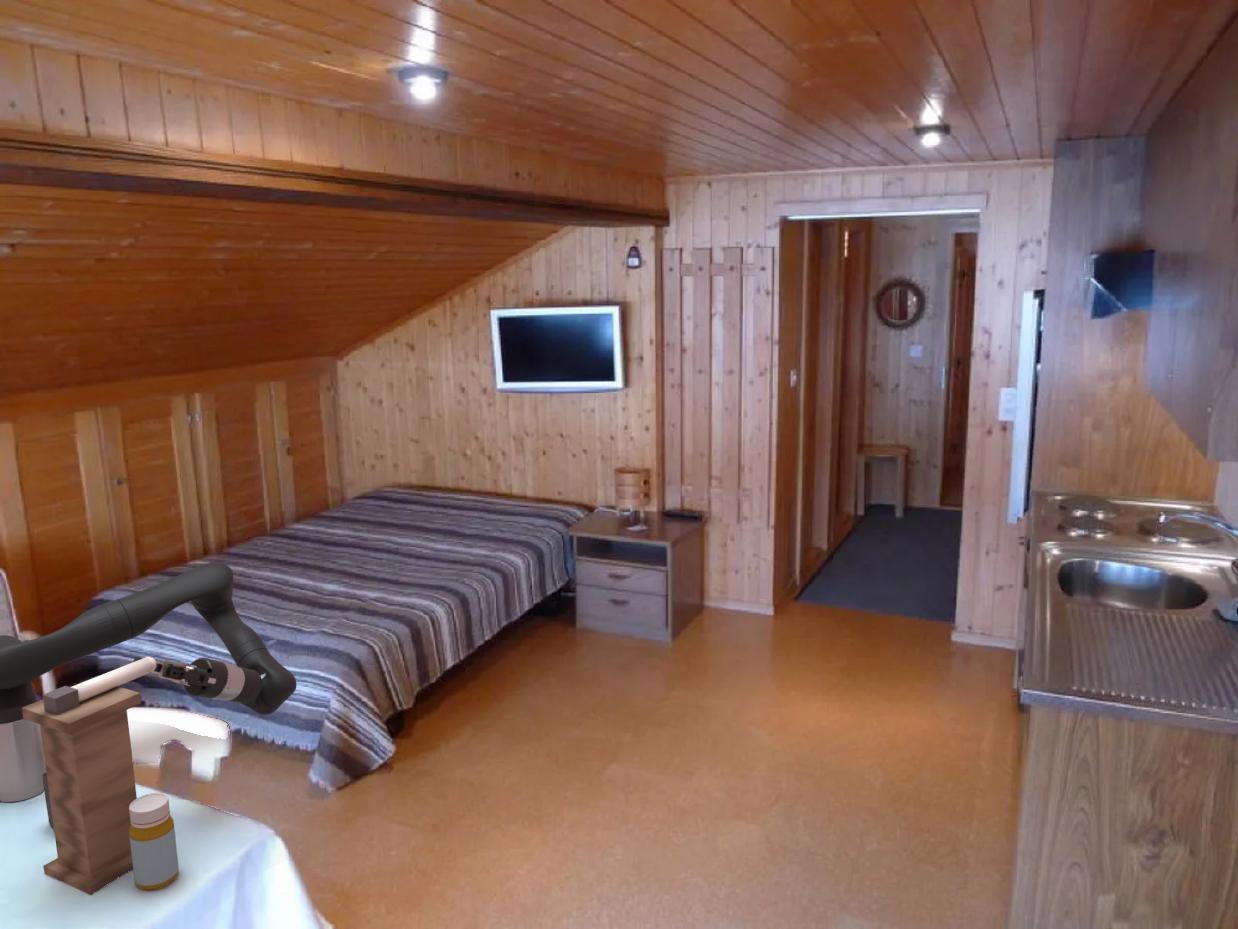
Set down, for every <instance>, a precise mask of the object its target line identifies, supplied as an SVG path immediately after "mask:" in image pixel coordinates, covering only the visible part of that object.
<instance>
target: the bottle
mask: <svg viewBox="0 0 1238 929" xmlns="http://www.w3.org/2000/svg"><path fill="white" fill-rule="evenodd" d="M170 811H171V810H170V800H169V797H168V795H167V794H165V793H161V792H153V793H148V794H144V795H141V796H139V797H137V799H135V800H134V801H133V802H132V803H131V804H130V806H129V812H130V819H131V826H130V830H129V837H130V846H131V854H132V863H133V869H132V871H133V878H134V883H135V885H136V887H138V888H140V889H142V890H143V889H144V891H154V889H155V890H158V889H162V888H164V887H167V886H168V885H169V884H171V883H172V882H173V881H174V880H175V879H176V878H177V876H178V875H179V871H180V870H179V860H178V859H179V857H178V849H177V841H176V838H177V837H176V830H175V822H174V819H173V817H172V815H171V812H170Z"/></svg>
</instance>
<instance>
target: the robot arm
mask: <svg viewBox="0 0 1238 929" xmlns="http://www.w3.org/2000/svg"><path fill="white" fill-rule="evenodd" d="M233 590H234V572H233V570H232V568H231V567H230V566H228V565H227V564H225V563H223V562H207V563H203V564H200V565H197V566H196V567H194V568H193V567H192V568H191V569H189V570H187V571H185V572H182V573H180V574H178V575H176V576H173V577H171V578H170V579H167V580H165V581H163V582H159V583H158V584H155V585H153V586H150V587H147V588H145V589H142V590H139V591H137V592H135V593H132V594H129V595H126V596H124V597H119V598H117V599H114V600H111V601H108V602H105V603H102V604H100V605H98V606H95V607H92V608H91V609H88V610H87V611H85V612H83V613H82V614H80V615H79V616H78V617H77V618H74V620H71V621H70V623H67V624H65V625H64V626H63V627H62V628H60V629H58V630H56V631H55V630H54V631H53V632H52V633H48V634H45V635H42V636H40V637H36V638H34V639H33V638H32V639H29V640H27V641H22V640H21V639H19V638H17V637H16V636H11V635H3V634H2V635H0V802H4V803H12V802H13V803H14V802H20V801H24V800H28V799H31V798H34V797H36V796H37V795H39V794H41V793H42V792H44V785H43V774H44V773H46V766H45V759H44V751H43V744H42V736H41V729H40V724H37V723H34V722H32V721H29V720H26V719H23V714H22V708H23V707H25V706H28V705H30V704H33V703H35V702H38V697H37V695H36V692H35V688H34V686H33V683H32V681H33V680H35V679H37V678H38V677H41V676H43V675H45V674H47V673H49V672H50V671H52V670H55V669H57V668H59V667H61V666H63V665H65V664H68V663H70V662H73V661H76V660H79V659H81V658H82V659H83V658H84V657H86V656H90V655H91V654H95V653H97V652H100V651H103V650H104V649H105V650H106V649H108V648H111V647H113V646H116V645H119V644H121V643H123V642H126V641H129V640H131V639H134V638H137V637H139V636H140V635H142V634H143V633H145V632H146V631H149V629H150V628H152V627H153V626H154V625H156V624H157V623H158V622H159V621H160V620H162V619H163V618H164V617H165V616H167V615H168V614H169V613H170V612H172V611H173V610H175V609H176V608H179V607H180V606H182V605H184V604H187V603H191V605H192V607H193V608H194V609H195V610H196V611H197V612H198V613H199V615H200V616H201V617H202V618H203V619H204V620H205V621H206V622H207V623H208V625H209V626H210V627H211V628H212V629H213V630H214V632H215V633H216V635H217V636H218V637H219V639H220V640H221V642H222V643H223V645H224V646H225V647H226V649H227V651H228V653H229V655H230V656H231V658H232V659H233V661H234V664H232V663H229V662H225V661H222V660H216V659H212V658H207V657H199V658H196V659H195V660H193V661H192V662H191V663H186V662H184V661H183V662H182V661H181V662H176V661H172V660H167V659H165V660H163V661H161V660H158V659H157V660H156V659H155V661H156V663H157V665H156V668H155V670H154V671H153V672H151V673H150V674H153V675H154V674H155V675H158V677H159V678H160V679H164V680H170V681H172V682H174V683H177V684H180V685H181V684H183V687H184V689H185V692H186V693H187V694H188V695H190V696H192V697H198V698H203V699H208V700H209V699H211V700H216V701H228V702H234V703H240V704H241V705H244V706H245V707H246V708H249V709H250V710H252V711H253V712H255V713H257V714H258V715H261V716H267V715H270V714H271V715H272V714H273V713H274V712H276V711H277V710H278V709H279V708H280V707H281V706H282V705H283V704H284V703H285V702H286V701H287V700H288V699H289V698H290V697H291V696H292V695H293V694H294V693H295V692H296V690H297V679H296V677H295V675H294V674H293V673H292V672H291V671H290V670H289V669H287V668H286V667H285V666H283V665H282V664H281V663H280V662H279V661H278V660H277V659H275V658H274V657H273V656H272V654H271V653H270V651H269V650H268V648H267V646H266V644H265V643H264V641H263V639H262V638H261V637H260V635H259V634H258V633H257V632H256V631H255V630H254V629H253V628H252V627H250V626H249V625H248V624H246V623H245V622H244V621H243V620H242V619H241V618H240V616H239V614H238V613H237V610H236V608H235V604H234V603H233V599H232V598H233V593H234V591H233ZM143 658H144V657H143ZM143 658H142V657H137V656H136V657H134V659H133V661H132V663H133V662H135V661H138V660H140V659H143ZM263 675H264V676H263ZM262 676H263V677H262Z"/></svg>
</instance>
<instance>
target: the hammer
mask: <svg viewBox="0 0 1238 929" xmlns="http://www.w3.org/2000/svg"><path fill="white" fill-rule="evenodd" d="M155 660H156V659H155V658H153V657H151V656H145V657H143V659H140V660H138V661H135V662H133V661H132V662H131V663H128V664H125V665H123V666H120V667H118V668H115V669H113V670H110V671H108V672H106V673H103V674H101V675H98V676H95V677H91V678H90V679H88V680H85V681H82V682H80V683H78V684H75V685H73V686H68V685H64V686H62V687H59V688H56V689H54V690H52V691H48V692H47V693H43V694H42V700H43V702H44V710H45V711H46V712H49V713H52V714H55V715H59V714H61V713H64V712H66V711H68V710H71V709H73V708H76V707H78V706H80V703H79V702H81V701H83V700H86V699H88V698H91V697H93V696H95V695H98V694H100V693H103V692H105V691H107V690H110V689H112V688H115V687H117V686H118V687H120V686H122V685H124V684H126V683H129V682H132V681H134V680H136V679H138V678H141V677H143V676H145V675H147V674H152V673H151V672H153V671H154V670H155V668H156V665H157V663H156V661H155Z"/></svg>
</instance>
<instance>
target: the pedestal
mask: <svg viewBox="0 0 1238 929" xmlns="http://www.w3.org/2000/svg"><path fill="white" fill-rule="evenodd" d="M79 703H80V706H78V707H76V708H73V709H71V710H68V711H66V712H64V713H61V714H59V715H55V714H52V713H49V712H46V711H45V710H44V702H43V699H41V700H37V702H35V703H33V704H30V705H28V706H25V707H23V708H22V714H23V719H26V720H29V721H32V722H34V723H37V724H40V729H41V736H42V744H43V751H44V759H45V766H46V774H47V781H48V789H49V796H50V804H51V811H52V819H53V826H54V829H53V833H54V839H55V840H54V841H55V848H56V856H57V858H54V859H53V860H51V861H49V862H47V863H46V864H44V865H43V871H44V872H43V873H44V875H46V876H48V877H51V878H53V879H54V880H58V881H60V882H61V883H63V884H66V885H68V886H70V887H72V888H75V889H77V890H79V891H82V892H83V893H86V894H88V895H90V896H92V895H93V894H95V893H96V892H98V891H100V890H101V889H102V888H105V887H107V886H108V885H109V883H110V884H111V883H113V882H114V881H116V880H117V878H118V877H119V878H120V877H123V876H124V875H126V874H128V873H129V872H131V871H133V863H132V854H131V846H130V837H129V830H130V826H131V819H130V812H129V806H130V804H131V803H132V802H133V801H134V800H135V799H137V798H138V797H137V788H136V779H135V770H134V763H133V762H134V761H133V753H132V746H131V745H132V744H131V735H130V726H129V718H128V710H129V709H131V708H134V707H136V706H138V705H140V704H142V699H141V692H139V691H135V690H132V689H128V688H125V687H120V686H117V687H115V688H112V689H110V690H107V691H105V692H103V693H100V694H98V695H95V696H93V697H91V698H88V699H86V700H83V701H81V702H79ZM128 871H129V872H128ZM125 873H126V874H125ZM122 875H123V876H122ZM119 878H118V879H119ZM107 884H108V885H107Z"/></svg>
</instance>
